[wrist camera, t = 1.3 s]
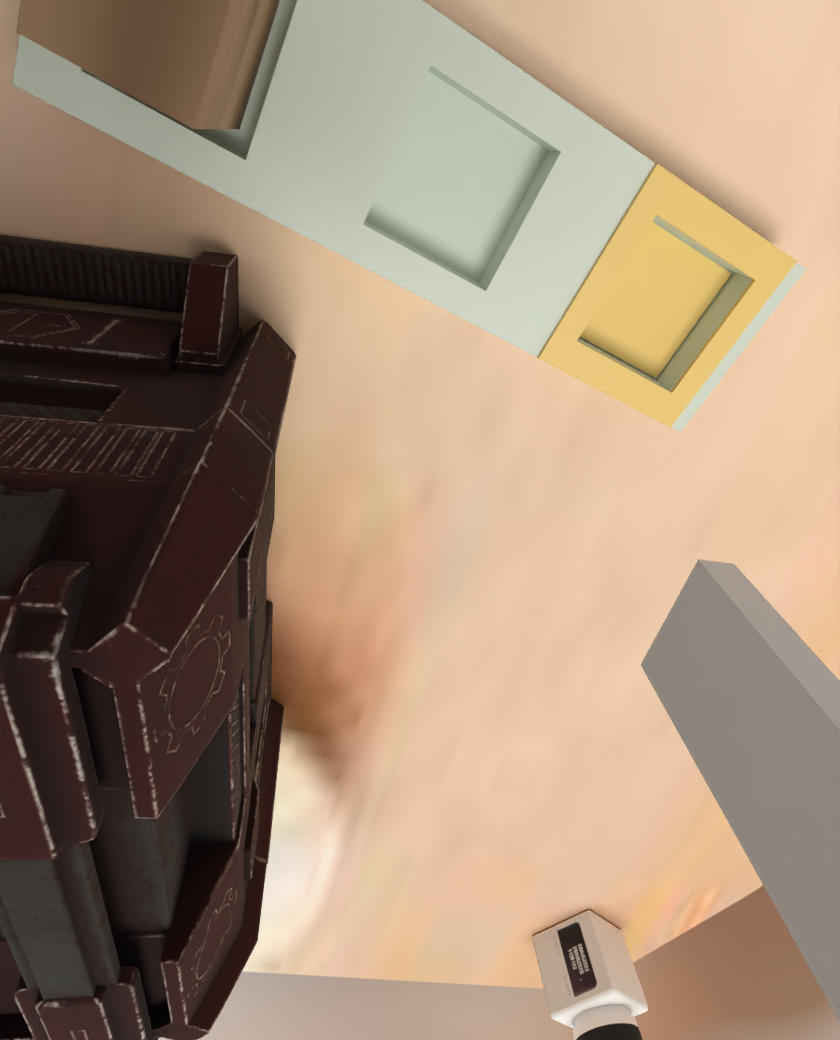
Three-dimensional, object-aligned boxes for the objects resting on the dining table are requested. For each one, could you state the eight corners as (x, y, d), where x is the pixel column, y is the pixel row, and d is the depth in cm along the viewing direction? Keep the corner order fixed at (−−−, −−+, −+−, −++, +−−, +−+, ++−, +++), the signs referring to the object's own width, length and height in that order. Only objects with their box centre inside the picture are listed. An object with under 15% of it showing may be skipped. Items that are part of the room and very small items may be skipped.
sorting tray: (46, 89, 24) (9, 83, 22) (98, -204, 20) (60, -256, 18) (656, 409, 35) (682, 433, 32) (768, 257, 31) (808, 269, 28)
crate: (-156, 204, 26) (-1219, 361, 8) (299, 263, 29) (230, 467, 11) (15, 744, 44) (-203, 1151, 26) (282, 745, 47) (246, 1110, 29)
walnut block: (123, 64, 23) (16, 32, 16) (155, -79, 21) (50, -194, 14) (239, 129, 25) (193, 129, 17) (279, 1, 23) (247, -63, 15)
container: (530, 935, 68) (565, 1088, 57) (589, 907, 66) (637, 1060, 55) (565, 955, 72) (604, 1102, 61) (622, 929, 70) (673, 1077, 59)
